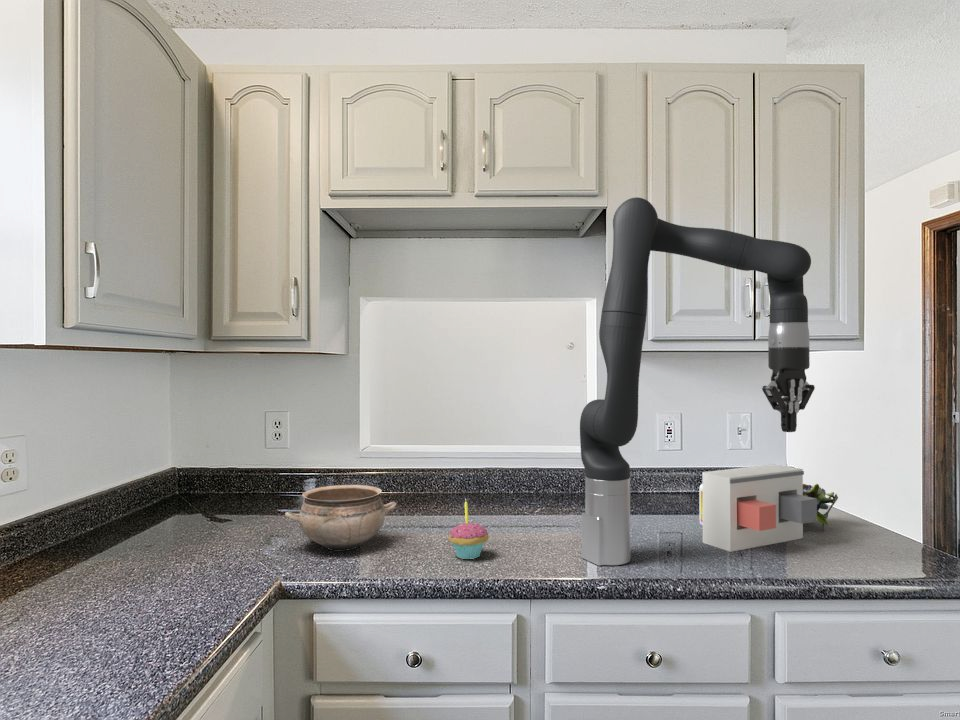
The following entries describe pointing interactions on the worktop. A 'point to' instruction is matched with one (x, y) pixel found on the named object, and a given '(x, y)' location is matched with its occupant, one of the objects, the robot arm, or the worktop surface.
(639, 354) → the robot arm
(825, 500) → the passion flower
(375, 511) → the cooking pot
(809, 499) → the grey button
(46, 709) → the worktop surface
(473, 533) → the cupcake
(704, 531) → the push button box
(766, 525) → the red button
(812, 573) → the worktop surface
